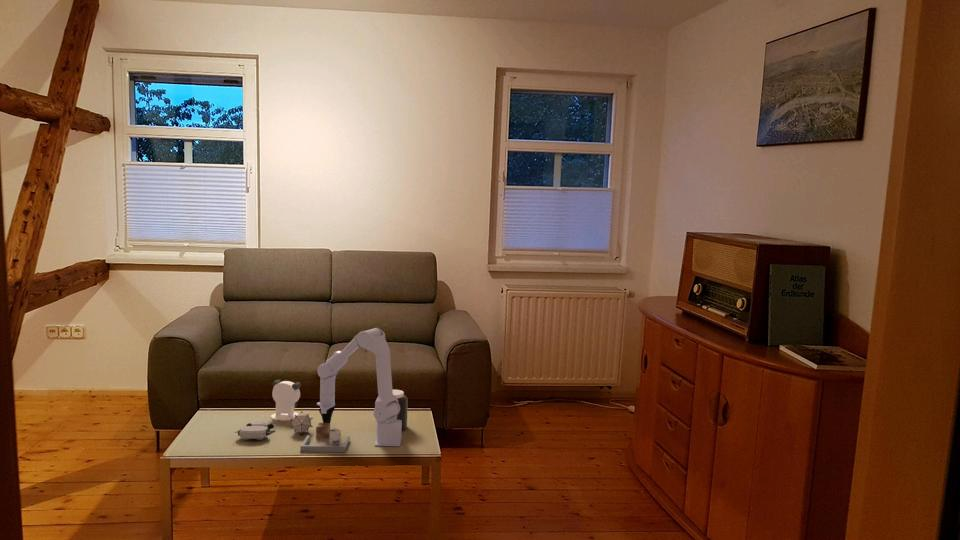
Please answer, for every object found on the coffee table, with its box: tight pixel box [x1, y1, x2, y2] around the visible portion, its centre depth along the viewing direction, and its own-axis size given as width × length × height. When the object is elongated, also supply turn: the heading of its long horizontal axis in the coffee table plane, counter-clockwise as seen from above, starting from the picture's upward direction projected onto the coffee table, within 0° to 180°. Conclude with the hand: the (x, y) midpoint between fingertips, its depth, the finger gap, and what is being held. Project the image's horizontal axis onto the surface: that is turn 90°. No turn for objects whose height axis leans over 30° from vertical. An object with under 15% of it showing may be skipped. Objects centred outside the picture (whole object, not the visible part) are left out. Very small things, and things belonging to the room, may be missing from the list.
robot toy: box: [234, 421, 277, 441], centre depth 234 cm, size 12×4×15 cm
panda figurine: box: [270, 379, 302, 422], centre depth 257 cm, size 12×11×15 cm
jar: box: [392, 389, 409, 433], centre depth 248 cm, size 12×12×15 cm
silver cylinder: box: [328, 428, 341, 446], centre depth 226 cm, size 4×4×6 cm
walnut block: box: [315, 422, 331, 439], centre depth 237 cm, size 4×4×4 cm
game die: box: [289, 410, 314, 436], centre depth 239 cm, size 9×8×10 cm
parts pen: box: [300, 434, 351, 453], centre depth 227 cm, size 16×11×2 cm
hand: (326, 425), depth 244 cm, fingers closed
